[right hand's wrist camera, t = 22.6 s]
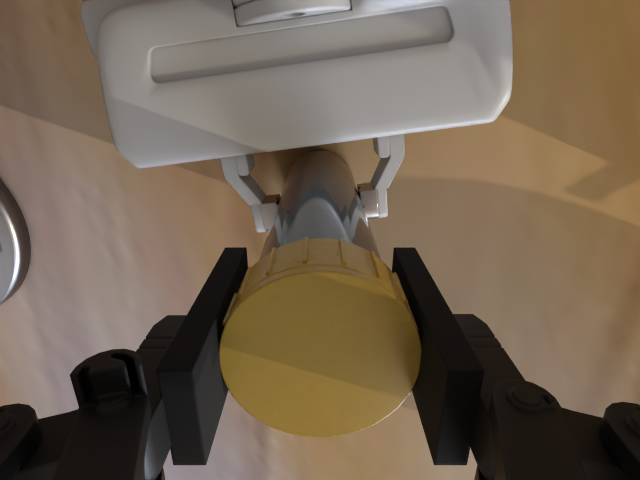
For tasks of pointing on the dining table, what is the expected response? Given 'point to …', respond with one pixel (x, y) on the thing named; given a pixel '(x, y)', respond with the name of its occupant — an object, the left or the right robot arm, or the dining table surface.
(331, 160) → the bottle
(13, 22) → the dining table surface
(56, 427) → the right robot arm
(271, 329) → the lid
